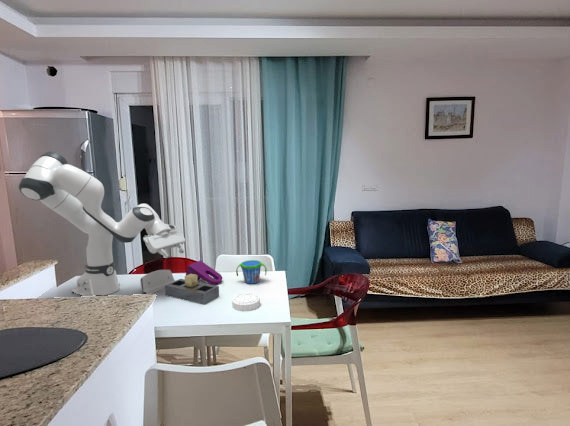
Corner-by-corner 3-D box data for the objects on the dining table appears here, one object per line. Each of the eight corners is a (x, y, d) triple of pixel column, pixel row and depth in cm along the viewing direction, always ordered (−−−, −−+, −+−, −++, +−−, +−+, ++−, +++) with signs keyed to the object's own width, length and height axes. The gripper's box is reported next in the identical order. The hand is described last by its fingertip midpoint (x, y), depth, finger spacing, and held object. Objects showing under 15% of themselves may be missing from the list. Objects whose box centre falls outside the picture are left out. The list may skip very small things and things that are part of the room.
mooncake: (231, 312, 144) (230, 304, 144) (233, 300, 156) (233, 293, 156) (260, 311, 145) (259, 302, 145) (260, 299, 157) (259, 292, 156)
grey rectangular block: (165, 295, 164) (164, 285, 163) (181, 288, 172) (180, 278, 171) (204, 304, 152) (204, 293, 151) (219, 296, 161) (218, 286, 160)
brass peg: (186, 296, 161) (184, 276, 160) (192, 293, 165) (190, 273, 163) (192, 298, 159) (191, 277, 158) (198, 295, 163) (197, 274, 161)
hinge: (146, 295, 164) (141, 274, 165) (142, 296, 168) (137, 276, 168) (177, 285, 177) (172, 266, 178) (173, 286, 180) (168, 267, 181)
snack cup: (234, 285, 175) (233, 265, 174) (239, 278, 185) (238, 259, 184) (265, 285, 173) (264, 266, 172) (268, 278, 184) (267, 260, 182)
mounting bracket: (220, 290, 184) (195, 273, 190) (225, 278, 181) (200, 260, 187) (209, 297, 175) (183, 278, 181) (214, 284, 173) (188, 265, 179)
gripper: (144, 232, 154) (161, 255, 151) (177, 224, 172) (193, 246, 169) (138, 240, 157) (154, 264, 154) (171, 233, 175) (187, 253, 172)
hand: (175, 254), depth 162 cm, fingers open, 8 cm apart
